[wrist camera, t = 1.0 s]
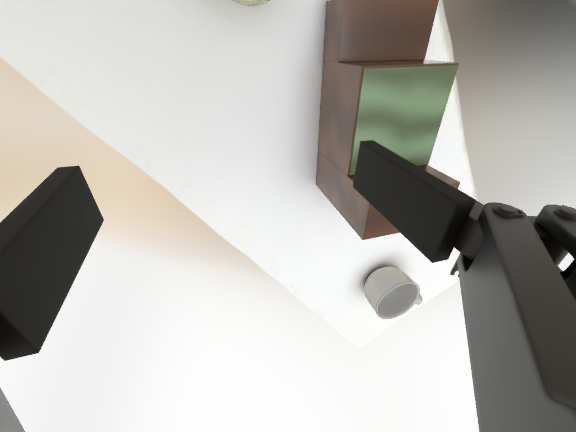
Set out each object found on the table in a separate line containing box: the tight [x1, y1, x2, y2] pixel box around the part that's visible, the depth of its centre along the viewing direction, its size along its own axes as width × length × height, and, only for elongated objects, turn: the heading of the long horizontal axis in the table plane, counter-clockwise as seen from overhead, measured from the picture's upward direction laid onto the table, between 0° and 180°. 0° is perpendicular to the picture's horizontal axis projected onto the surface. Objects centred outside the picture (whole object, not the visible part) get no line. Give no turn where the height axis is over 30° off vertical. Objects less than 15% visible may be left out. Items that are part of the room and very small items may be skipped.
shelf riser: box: [316, 0, 460, 240], centre depth 33 cm, size 24×12×16 cm, turn 1°
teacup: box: [364, 266, 422, 319], centre depth 61 cm, size 14×11×8 cm
